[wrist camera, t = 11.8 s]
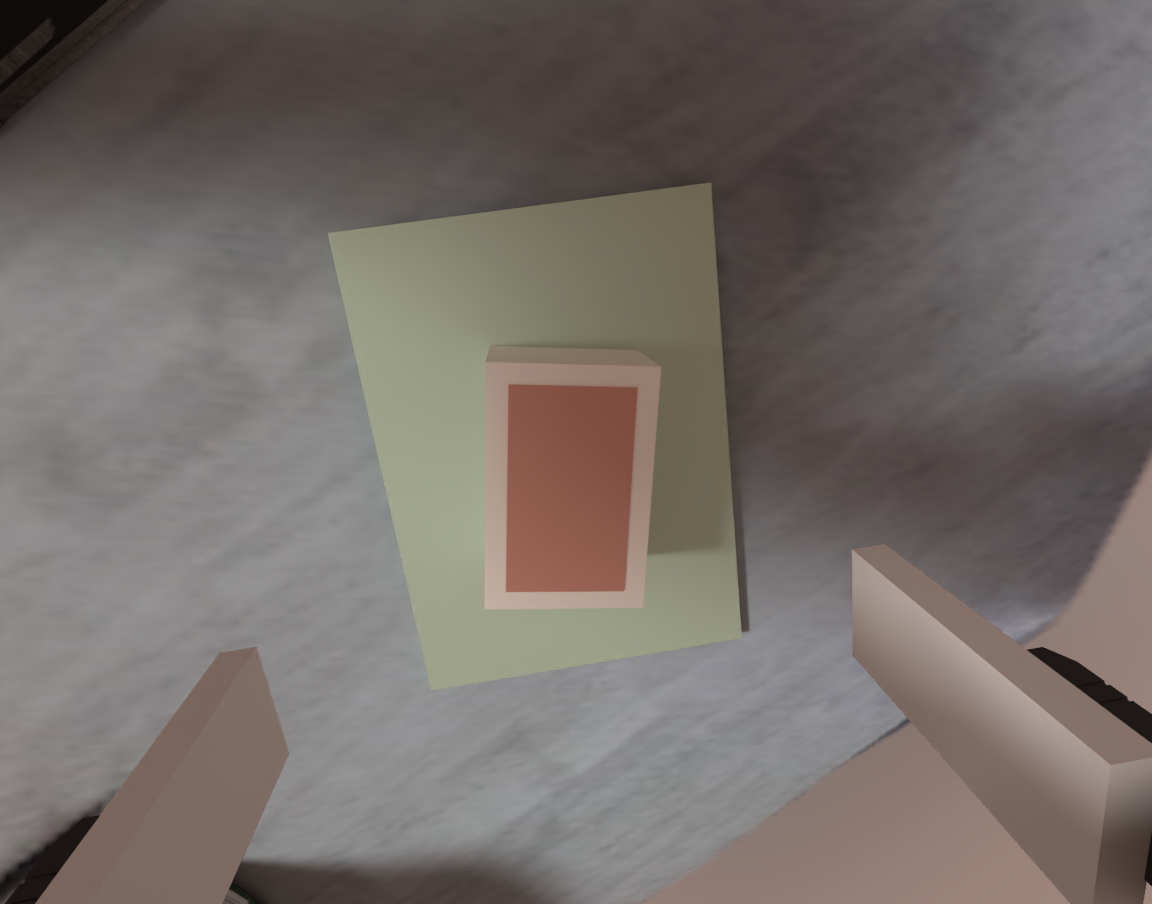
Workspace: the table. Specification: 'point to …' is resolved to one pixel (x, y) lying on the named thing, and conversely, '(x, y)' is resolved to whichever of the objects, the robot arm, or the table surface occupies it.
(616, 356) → the card box
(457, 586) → the mat
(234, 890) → the coffee jar
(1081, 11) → the table surface
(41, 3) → the phone
